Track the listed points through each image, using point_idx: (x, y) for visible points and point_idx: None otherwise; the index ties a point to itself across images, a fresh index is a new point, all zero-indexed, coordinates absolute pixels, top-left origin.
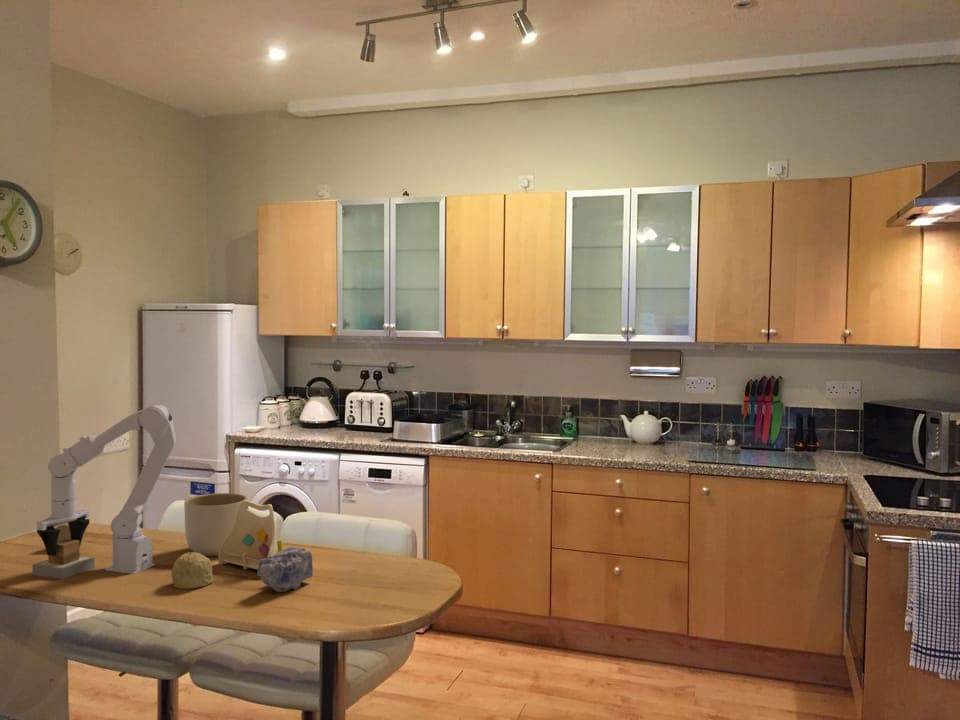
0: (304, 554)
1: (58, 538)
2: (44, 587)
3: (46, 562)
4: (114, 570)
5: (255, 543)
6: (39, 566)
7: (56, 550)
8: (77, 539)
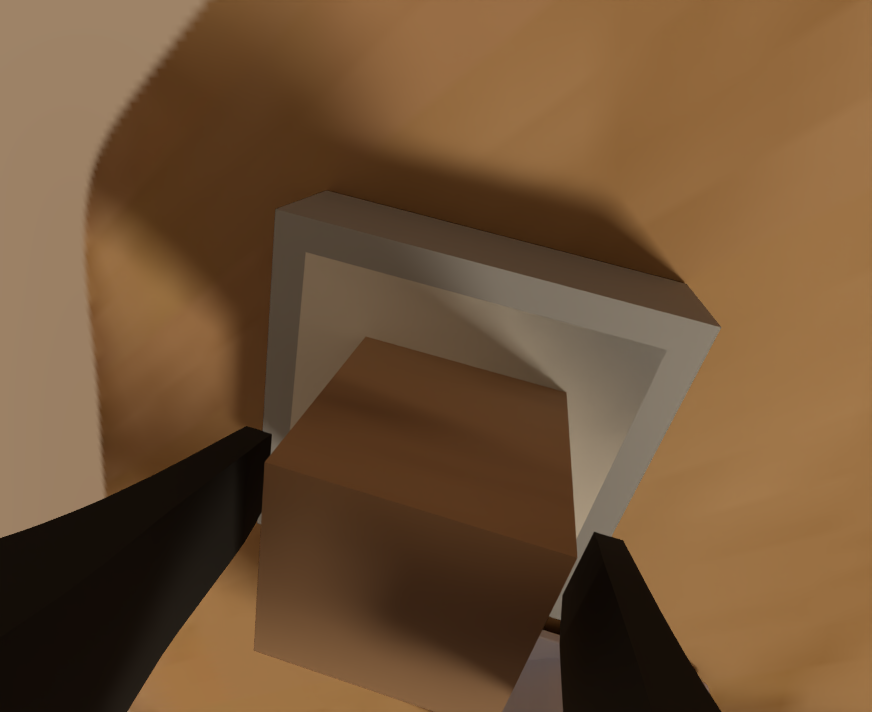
0: None
1: None
2: (163, 419)
3: (373, 310)
4: None
5: None
6: (275, 298)
7: (234, 552)
8: (575, 691)
